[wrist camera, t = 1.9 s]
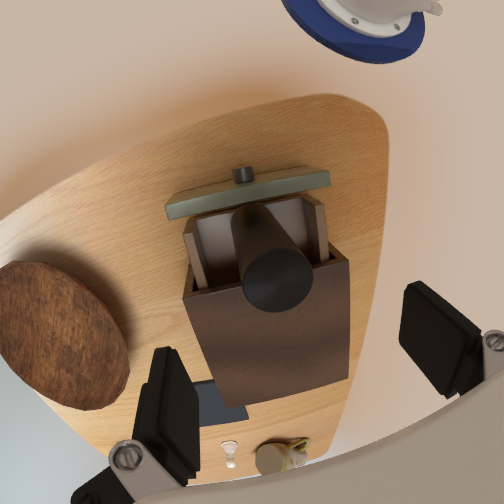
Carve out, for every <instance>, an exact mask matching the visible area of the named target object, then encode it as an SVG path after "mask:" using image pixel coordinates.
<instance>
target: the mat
mask: <svg viewBox="0 0 504 504" xmlns="http://www.w3.org/2000/svg"><path fill="white" fill-rule="evenodd" d="M193 385H194V387H195V389H196V391H197V393H198V396H199V427H203V426H211V425H218V424H225V423H231V422H237V421H243V420H248V419H249V417H248V414H247V412H246V409H245V407H244V406H239V407H234V408H228V409H227V408H226V405H225V403H224V401H223V399H222V397H221V394H220V392H219V390H218V388H217V385H216V383H215V381H214V380H209V381H202V382H196V383H193Z"/></svg>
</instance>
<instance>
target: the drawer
mask: <svg viewBox="0 0 504 504" xmlns="http://www.w3.org/2000/svg"><path fill="white" fill-rule="evenodd" d="M232 171H233V176H234V180H230V181H226V182H221V183H217V184H213V185H208V186H204V187H200V188H196V189H192V190H188V191H184V192H180V193H176V194H173V196H172V197H171V198H170V199H169V201H168V202H167V203H166V204H165V210H166V213H167V217H168V220H174V219H178V218H182V217H186V216H190V215H194V214H198V213H202V212H206V211H211V210H215V209H219V208H224V207H228V206H233V205H237V204H242V203H246V202H251V201H256V200H261V199H265V198H270V197H275V196H280V195H285V194H290V193H295V192H301V191H306V190H311V189H317V188H322V187H328V186H331V182H330V174H329V171H327V170H323V169H320V168H316V167H313V166H303V167H297V168H292V169H286V170H280V171H275V172H270V173H264V174H259V175H254V172H253V167H252V165H244V166H239V167H235V168H233V169H232ZM259 204H261V205H263V206H265V207H266V208H268V209H269V210H270V212H271V213H272V214H273V216H274V217H275V218H276V219H277V221H278V222H279V223H280V224H281V226H282V227H283V228H284V230H285V231H286V232H287V233H288V235H289V236H290V237H291V239H292V240H293V241H294V242H295V244H296V245H297V246H298V248H299V249H300V250H301V252H302V253H303V254H304V256H305V257H306V258H307V260H308V261H309V262H310V264H311V265H313V264H317V263H321V262H325V261H329V248H328V238H327V228H326V218H325V209H324V204H323V203H322V202H320V201H318V200H317V199H315V198H313V197H312V196H310V195H308V194H304V195H299V196H294V197H288V198H283V199H278V200H274V201H269V202H264V203H259ZM237 209H238V208H236V209H231V210H227V211H223V212H218V213H214V214H210V215H205V216H201V217H197V218H193V219H189V220H188V221H187V223H186V226H185V229H184V232H183V238H184V242H185V245H186V249H187V252H188V255H189V259H190V262H191V265H192V269H193V272H194V275H195V279H196V282H197V285H198V288H199V291H200V290H205V289H209V288H214V287H218V286H223V285H227V284H232V283H236V282H241V279H240V273H239V268H238V263H237V258H236V253H235V247H234V242H233V237H232V231H231V219H232V216H233V214H234V213H235V211H236V210H237Z"/></svg>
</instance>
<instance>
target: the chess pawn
mask: <svg viewBox="0 0 504 504" xmlns="http://www.w3.org/2000/svg"><path fill="white" fill-rule="evenodd" d="M221 446H222V447H223V450H224V451H225V453H226V455H227V457H226V459H228V460H227V461H226V466H227V467H228V468H234V467H235V466H236V462H235V461H234V460H233V459H234V456H233V455H234V453H235V450H236V449H237V446H238V444H237V443H236V442H233V441H226V442H224V443H222V444H221Z"/></svg>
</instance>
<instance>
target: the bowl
mask: <svg viewBox="0 0 504 504" xmlns="http://www.w3.org/2000/svg"><path fill="white" fill-rule="evenodd" d="M0 354H1V355H2V357H3V358H4V360H5V361H6V362H7V364H8V365H9V367H10V368H11V369H12V370H13V371H14V372H15V373H16V374H17V375H18V376H19V377H20V378H21V379H22V380H23V381H24V382H25V383H26V384H28V385H29V386H30V387H32V388H33V389H35V390H36V391H38V392H39V393H40V394H42V395H43V396H45V397H47V398H49V399H51V400H53V401H55V402H57V403H59V404H61V405H64V406H67V407H71V408H75V409H79V410H84V411H88V410H97V409H102V408H104V407H106V406H108V405H110V404H112V403H114V402H115V400H116V399H117V398H118V397H119V395H120V394H121V393H122V392H123V390H124V389H125V386H126V382H127V379H128V376H129V373H130V367H129V360H128V352H127V344H126V341H125V339H124V336H123V334H122V332H121V331H120V329H119V327H118V325H117V324H116V322H115V320H114V318H113V316H112V314H111V313H110V311H109V309H108V307H107V306H106V305H105V304H104V303H103V302H101V301H100V300H99V299H98V298H97V297H96V296H95V295H94V294H93V293H92V292H91V291H90V290H89V289H88V288H87V287H86V286H85V285H84V284H83V283H82V282H81V281H80V280H78V279H76V278H74V277H72V276H70V275H68V274H66V273H65V272H63V271H61V270H59V269H57V268H55V267H53V266H51V265H49V264H47V263H46V262H29V261H12V262H10V263H8V264H7V265H5V266H4V267H2V268H1V269H0Z"/></svg>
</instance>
